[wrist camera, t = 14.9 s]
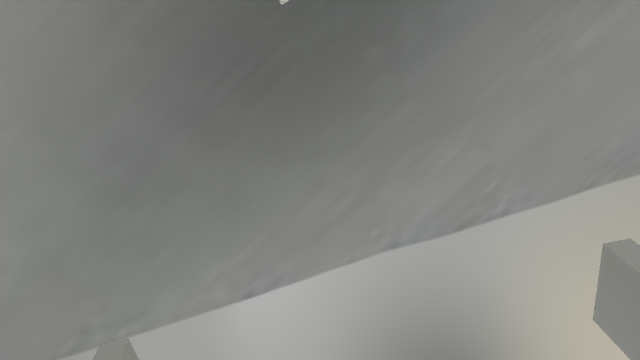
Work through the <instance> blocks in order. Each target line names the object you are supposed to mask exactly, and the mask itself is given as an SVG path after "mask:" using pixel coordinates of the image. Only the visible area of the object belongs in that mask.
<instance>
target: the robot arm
mask: <svg viewBox="0 0 640 360" xmlns="http://www.w3.org/2000/svg"><path fill="white" fill-rule="evenodd" d="M593 320H594V321H595V322H596V324H598V326H599V327H600V328H601V329H602V330H603V331H604V332H605V333H606V334H607V335H608V336H609V337H610V338H611V339H612V341H613V342H614V343H615V344H616V345H617V346H618V347H619V348H620V349H621V350H622V351H623V352H624V353H625V354H626V355H627V356H628V358H630V360H640V245H639V244H637V243H636V242H635V241H633V240H632V239H625V240H620V241H615V242H610V243H605V244H603V248H602V256H601V263H600V271H599V278H598V285H597V293H596V300H595V307H594V315H593ZM93 360H139V359H138V357H137V355H136V353H135V351H134V349H133V347H132V345H131V343H130V341H129V339H123V340H118V341H113V342H108V343H103V344H100V346H99V348H98V350H97V352H96V354H95V356H94V358H93Z"/></svg>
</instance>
